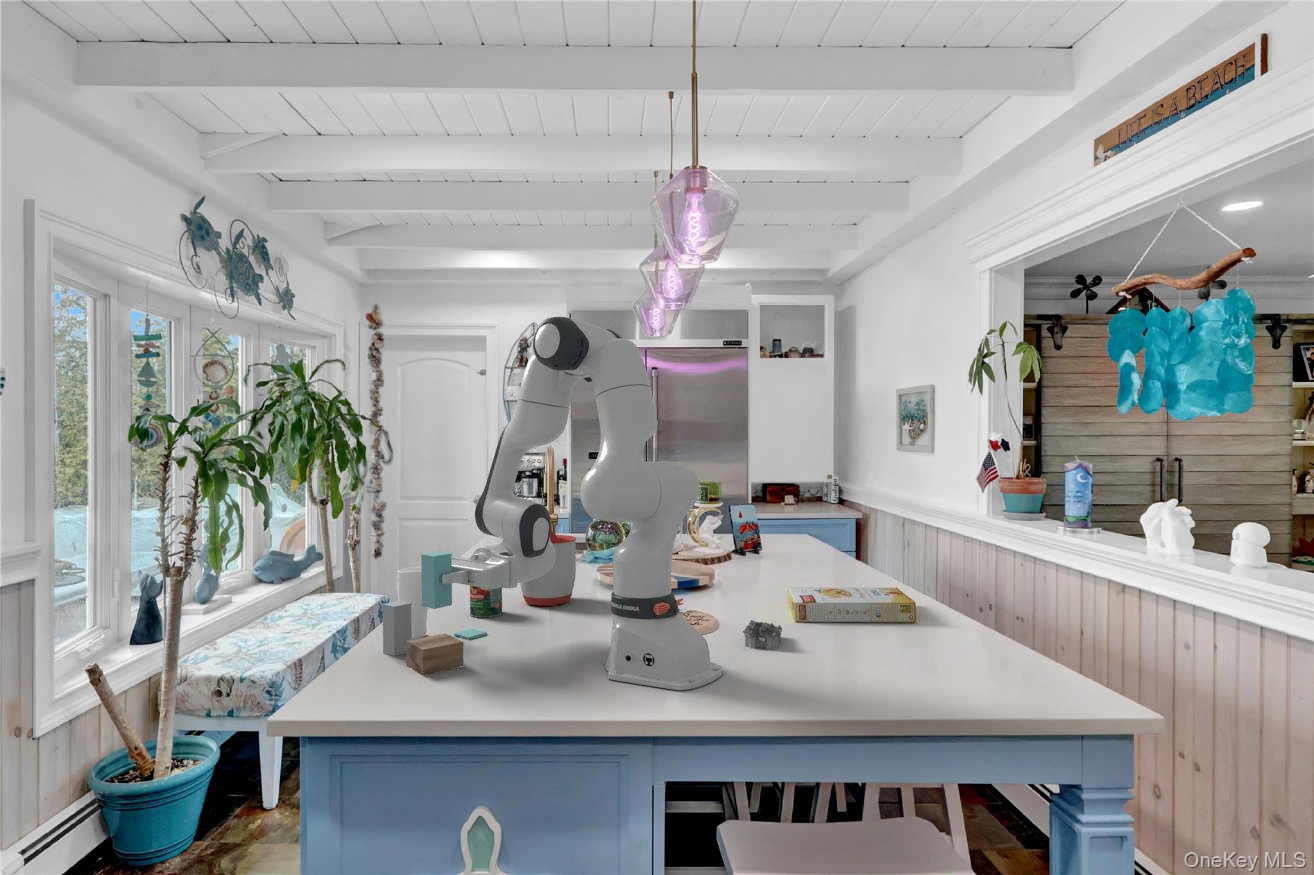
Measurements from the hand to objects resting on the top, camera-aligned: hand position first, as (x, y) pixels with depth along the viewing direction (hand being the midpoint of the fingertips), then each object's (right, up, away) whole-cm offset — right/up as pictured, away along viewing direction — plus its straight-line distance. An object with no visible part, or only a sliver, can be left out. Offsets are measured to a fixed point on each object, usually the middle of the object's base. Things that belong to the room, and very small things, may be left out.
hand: (432, 577), depth 142 cm
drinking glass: (-11, -17, +21) cm, 29 cm away
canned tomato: (+1, -17, +41) cm, 45 cm away
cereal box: (+90, -17, +39) cm, 100 cm away
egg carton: (+66, -17, +15) cm, 69 cm away
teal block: (+1, -5, +1) cm, 6 cm away
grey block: (-10, -17, +9) cm, 22 cm away
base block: (0, -17, 0) cm, 17 cm away
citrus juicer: (+13, -17, +55) cm, 59 cm away
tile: (+2, -17, +22) cm, 28 cm away
